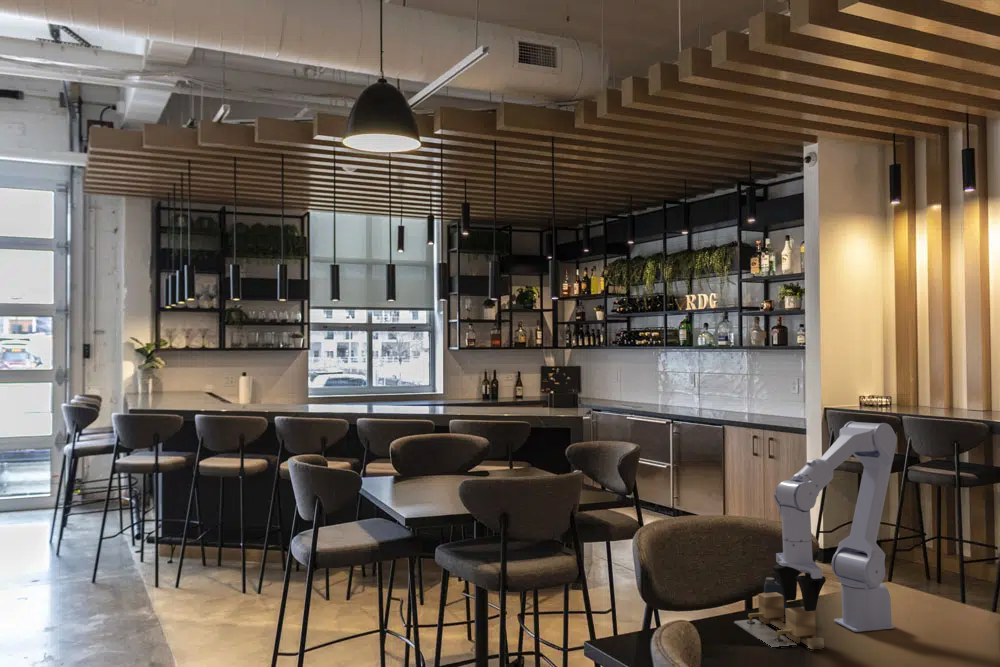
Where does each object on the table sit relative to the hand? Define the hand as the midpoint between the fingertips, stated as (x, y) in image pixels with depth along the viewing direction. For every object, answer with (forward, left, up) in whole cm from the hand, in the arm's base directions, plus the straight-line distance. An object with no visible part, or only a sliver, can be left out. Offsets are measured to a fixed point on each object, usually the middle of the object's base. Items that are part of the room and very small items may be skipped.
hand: (800, 605), depth 172 cm
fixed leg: (+2, -12, -7) cm, 14 cm away
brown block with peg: (+2, 0, -7) cm, 7 cm away
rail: (0, -5, -7) cm, 9 cm away
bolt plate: (+6, -5, -7) cm, 11 cm away
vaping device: (-4, -17, -7) cm, 19 cm away
